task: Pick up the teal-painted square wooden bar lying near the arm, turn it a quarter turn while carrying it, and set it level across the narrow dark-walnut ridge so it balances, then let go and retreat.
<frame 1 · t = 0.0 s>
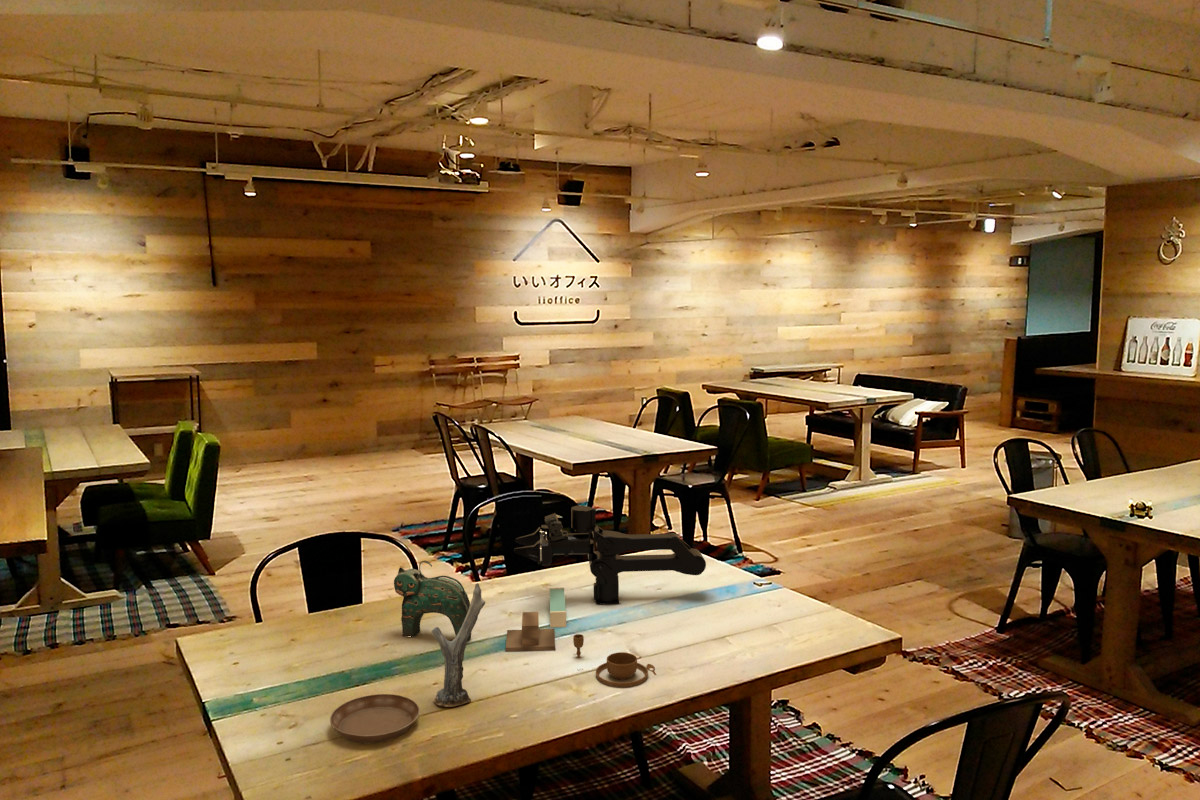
hand: (514, 545, 252), 17 cm above the table, tool horizontal, fingers open, 9 cm apart
bar: (557, 614, 247), on the table
plant saucer: (376, 728, 187), on the table
ceramic cat: (435, 637, 232), on the table
bare tree trunk: (459, 698, 199), on the table
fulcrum: (530, 641, 228), on the table
place setting: (615, 672, 213), on the table
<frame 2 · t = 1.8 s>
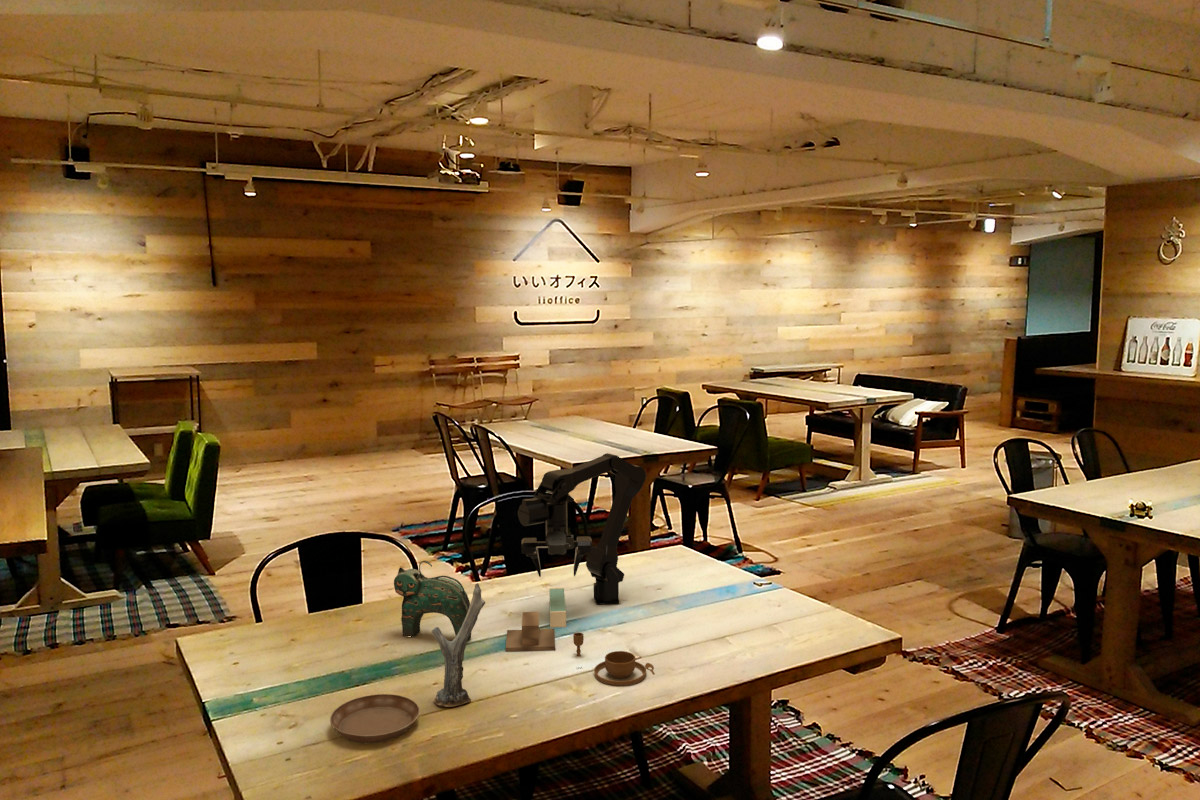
hand: (557, 576, 245), 11 cm above the table, tool pointing down, fingers open, 9 cm apart
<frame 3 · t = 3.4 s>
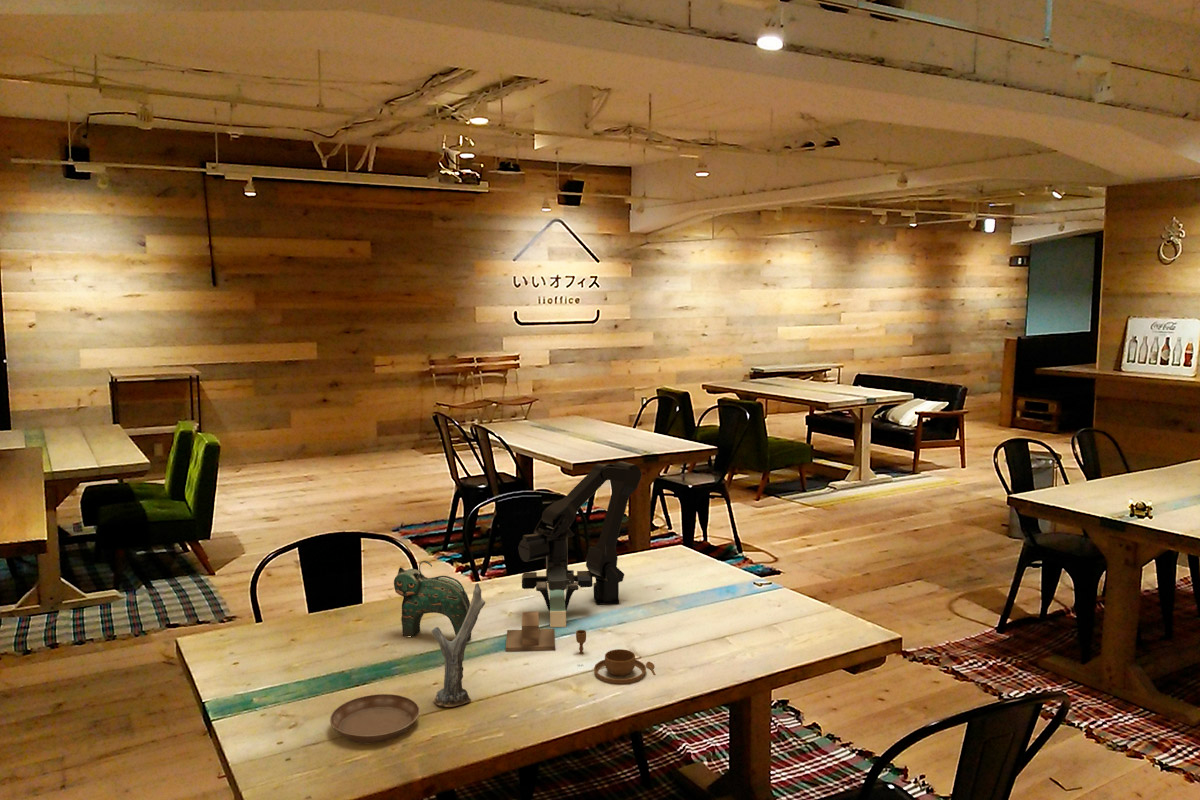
hand: (557, 610, 247), 1 cm above the table, tool pointing down, fingers closed on bar, 4 cm apart
bar: (557, 613, 247), on the table, touching gripper
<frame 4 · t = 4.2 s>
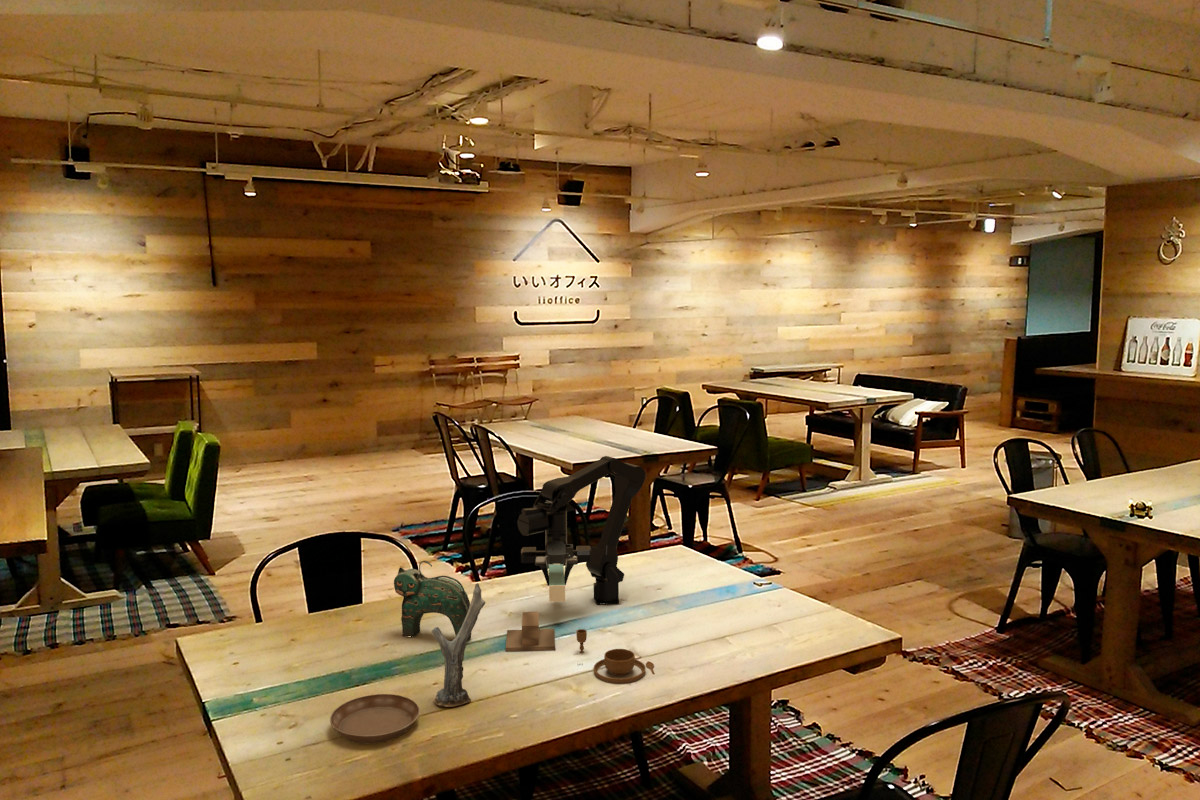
hand: (556, 585, 245), 8 cm above the table, tool pointing down, fingers closed on bar, 4 cm apart
bar: (556, 588, 246), point 7 cm above the table, touching gripper
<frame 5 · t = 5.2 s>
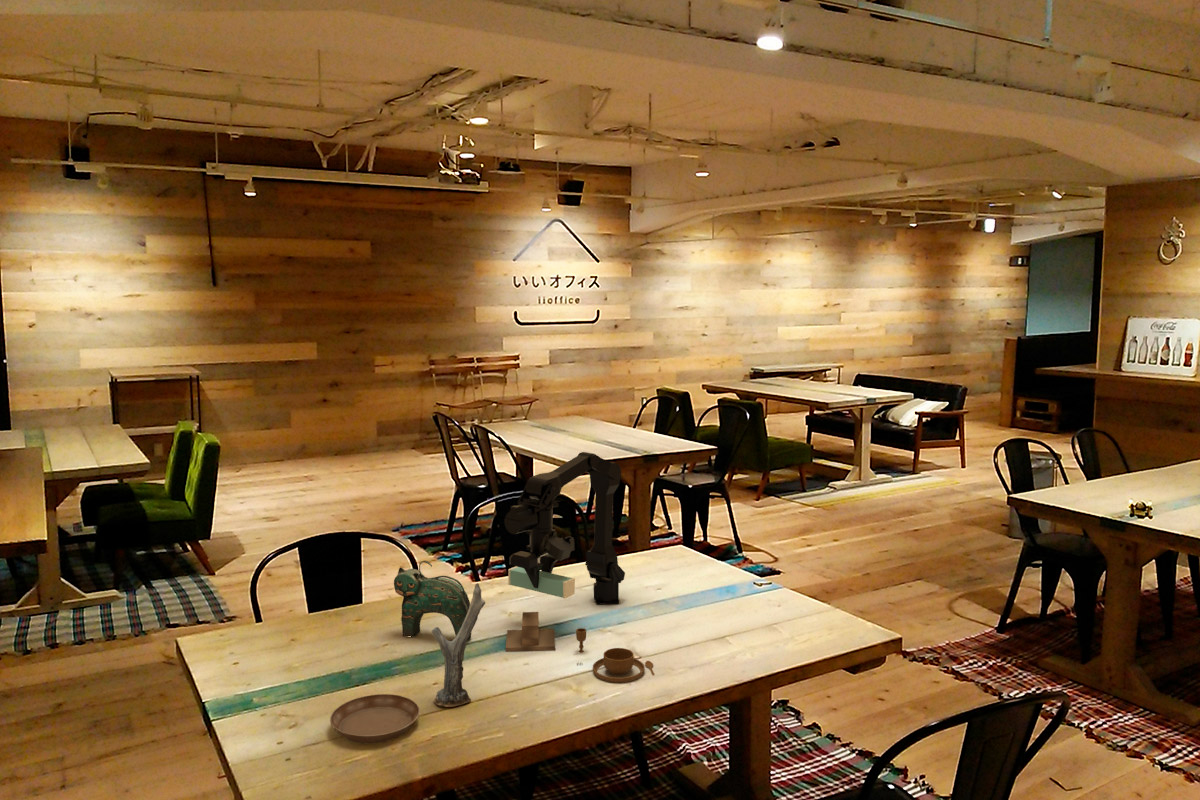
hand: (541, 585, 235), 12 cm above the table, tool pointing down, fingers closed on bar, 4 cm apart
bar: (541, 589, 235), point 11 cm above the table, touching gripper
when the fingers open (8 cm above the table, at t = 6.6 s): bar drops 1 cm, resting on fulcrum.
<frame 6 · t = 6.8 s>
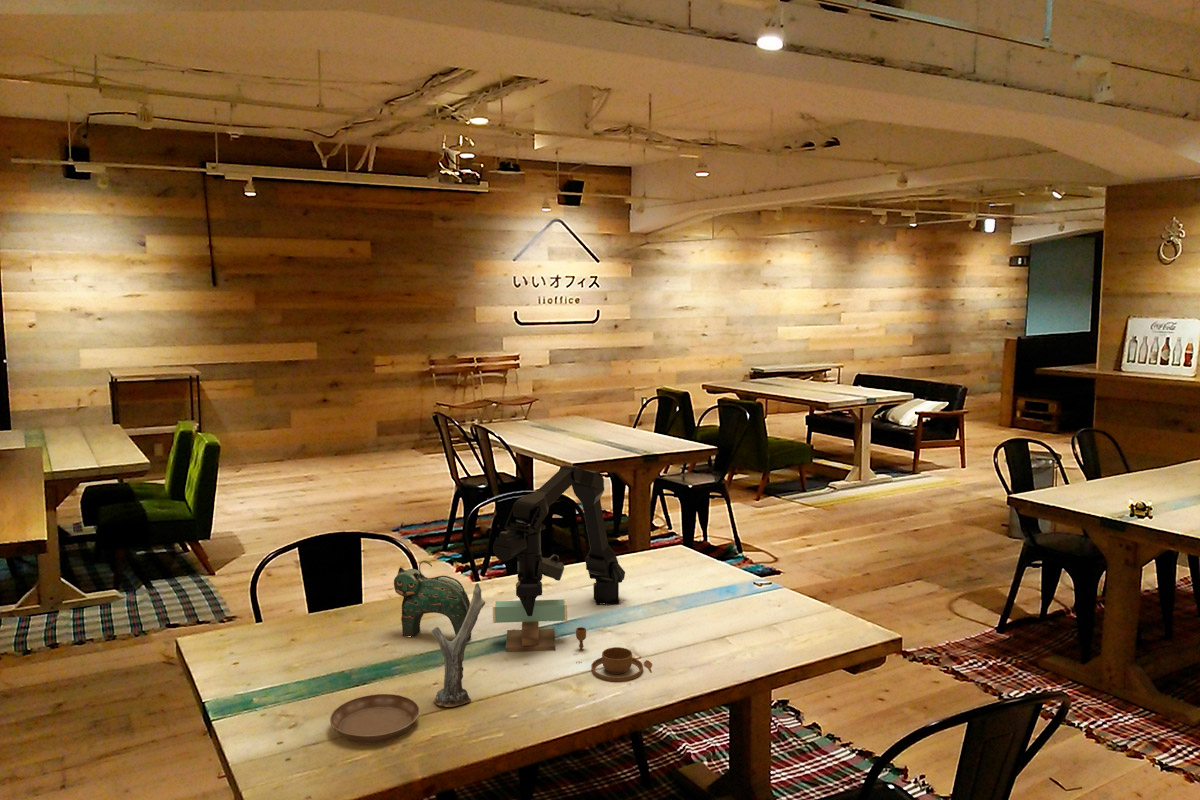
hand: (530, 611, 227), 8 cm above the table, tool pointing down, fingers open, 6 cm apart
bar: (530, 618, 228), point 6 cm above the table, touching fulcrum
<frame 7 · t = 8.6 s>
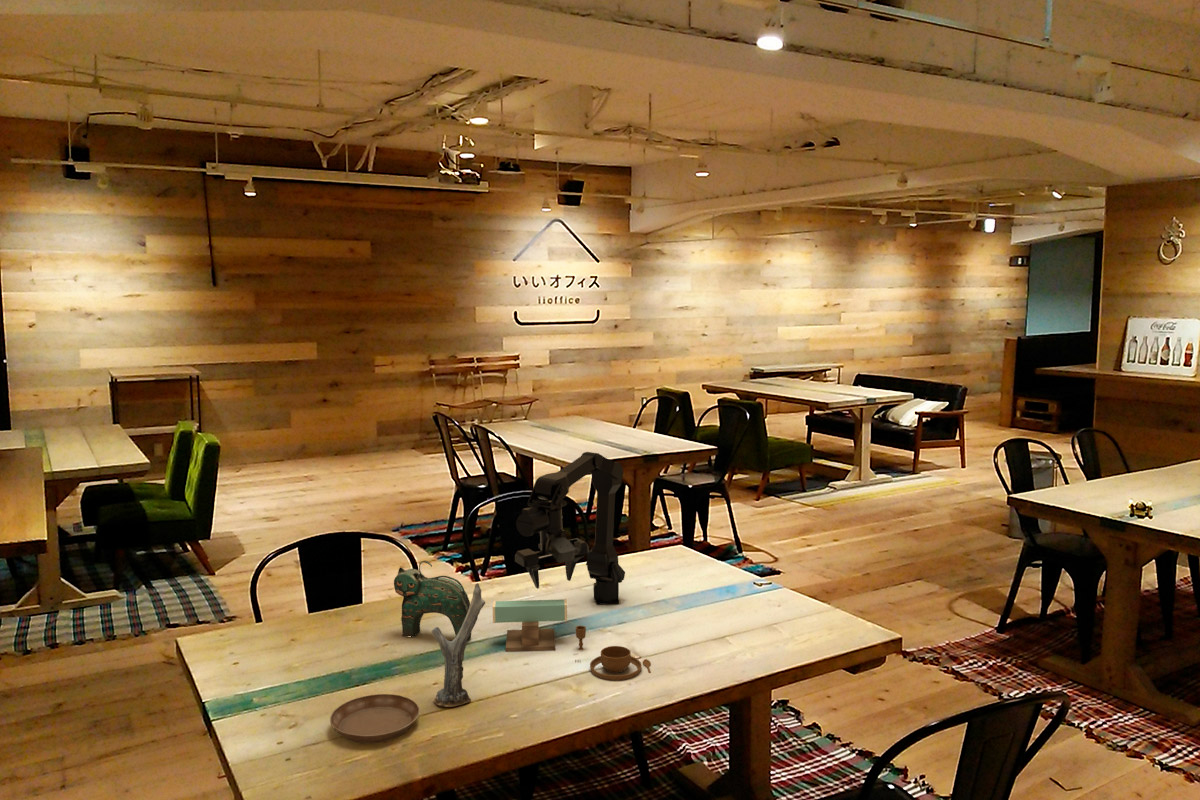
hand: (553, 584, 235), 12 cm above the table, tool pointing down, fingers open, 9 cm apart
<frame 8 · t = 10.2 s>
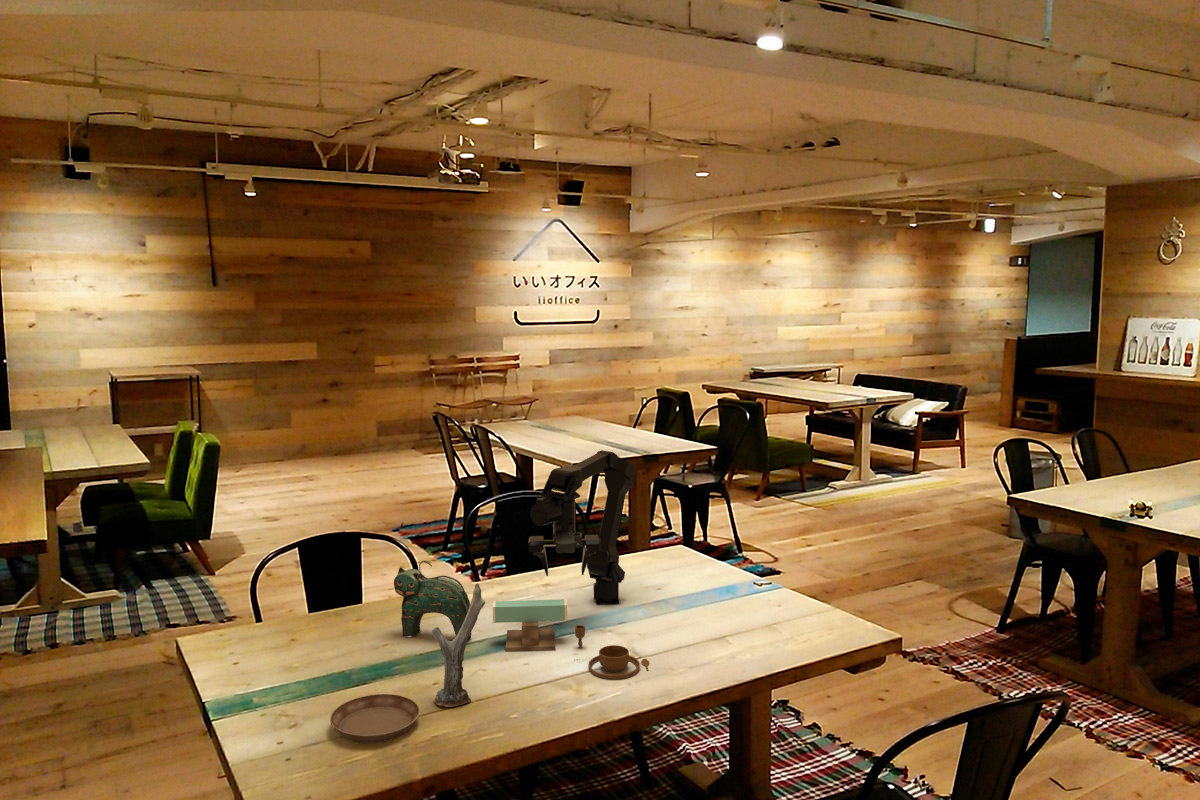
hand: (564, 575, 240), 13 cm above the table, tool pointing down, fingers open, 9 cm apart
at the end: bar inside the target area on the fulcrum (0.1 cm from its centre), point 6.0 cm above the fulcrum's base; bar tilted 0°; the gripper is holding nothing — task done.
